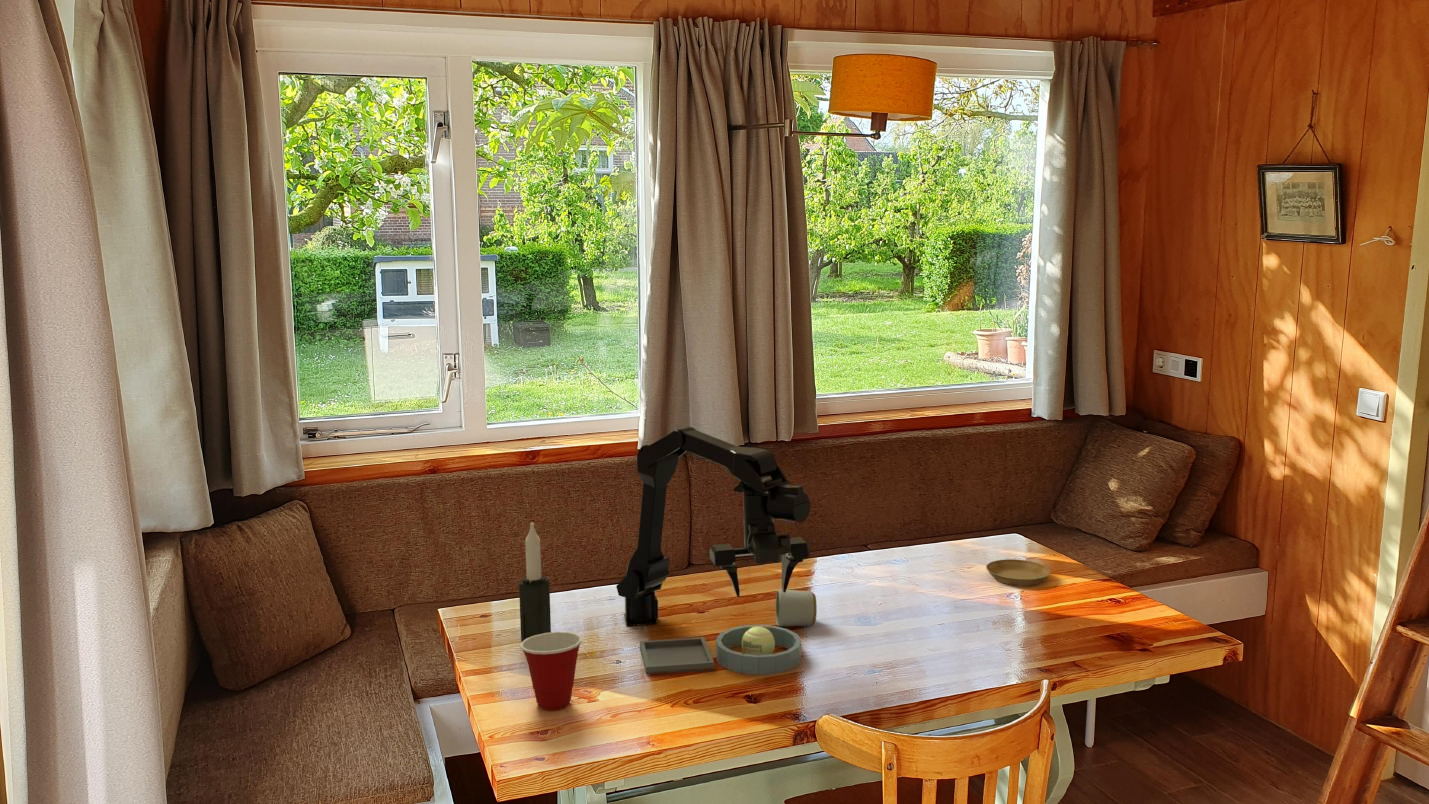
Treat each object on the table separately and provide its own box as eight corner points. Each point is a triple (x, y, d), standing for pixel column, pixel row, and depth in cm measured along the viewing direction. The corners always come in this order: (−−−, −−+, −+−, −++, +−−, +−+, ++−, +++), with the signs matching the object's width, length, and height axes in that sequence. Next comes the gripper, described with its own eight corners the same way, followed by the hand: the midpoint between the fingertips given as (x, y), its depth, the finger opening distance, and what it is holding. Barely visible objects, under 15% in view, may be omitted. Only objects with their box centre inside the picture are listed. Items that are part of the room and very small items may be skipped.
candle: (553, 638, 225) (549, 520, 221) (541, 647, 220) (537, 526, 216) (531, 635, 227) (526, 518, 223) (519, 644, 222) (514, 524, 218)
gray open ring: (724, 677, 205) (724, 659, 205) (710, 644, 221) (710, 627, 221) (809, 671, 208) (809, 653, 207) (790, 638, 224) (790, 622, 223)
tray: (646, 674, 207) (646, 667, 206) (639, 648, 219) (639, 641, 219) (714, 669, 209) (714, 662, 208) (704, 644, 221) (704, 637, 221)
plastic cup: (562, 685, 202) (560, 623, 200) (595, 704, 194) (594, 640, 192) (510, 702, 195) (508, 638, 193) (543, 723, 187) (541, 656, 185)
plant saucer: (1060, 578, 261) (1061, 567, 261) (1033, 594, 250) (1033, 583, 250) (1003, 565, 271) (1003, 555, 270) (974, 580, 260) (974, 569, 259)
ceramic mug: (817, 630, 228) (818, 595, 227) (778, 631, 228) (778, 596, 227) (810, 613, 239) (810, 579, 238) (772, 614, 238) (772, 580, 237)
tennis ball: (736, 626, 213) (766, 632, 209) (753, 620, 219) (782, 626, 215) (734, 659, 213) (764, 665, 210) (751, 652, 219) (780, 658, 215)
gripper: (719, 530, 201) (722, 612, 203) (817, 521, 205) (819, 602, 207) (707, 516, 212) (710, 594, 214) (800, 508, 216) (803, 584, 218)
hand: (761, 594), depth 213 cm, fingers open, 9 cm apart
